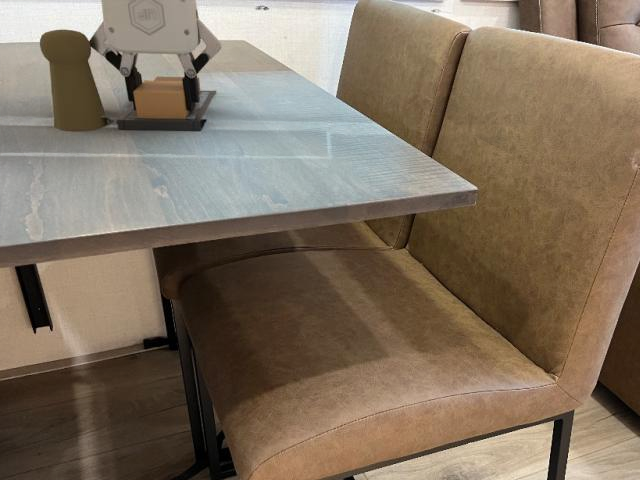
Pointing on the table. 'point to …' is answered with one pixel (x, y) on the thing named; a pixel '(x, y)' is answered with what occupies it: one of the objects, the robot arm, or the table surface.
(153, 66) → the table surface
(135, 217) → the table surface
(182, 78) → the pad
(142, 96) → the loose pad
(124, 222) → the table surface
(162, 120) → the frame
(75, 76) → the olive pawn
